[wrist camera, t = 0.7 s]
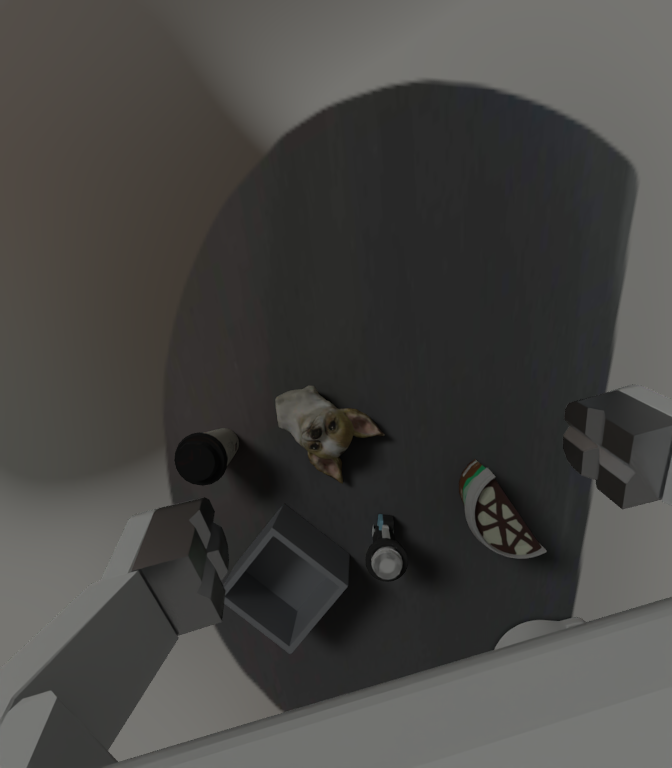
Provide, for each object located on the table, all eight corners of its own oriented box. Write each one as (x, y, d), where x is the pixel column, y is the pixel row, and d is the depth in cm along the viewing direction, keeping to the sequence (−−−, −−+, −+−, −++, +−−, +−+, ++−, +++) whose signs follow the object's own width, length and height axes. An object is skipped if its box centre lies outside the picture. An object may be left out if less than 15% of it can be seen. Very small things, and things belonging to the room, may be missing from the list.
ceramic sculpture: (300, 367, 48) (392, 443, 49) (307, 362, 56) (385, 426, 57) (247, 432, 49) (338, 504, 50) (262, 416, 57) (339, 479, 59)
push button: (396, 556, 58) (404, 599, 48) (361, 551, 58) (361, 592, 48) (402, 514, 58) (411, 548, 48) (366, 509, 58) (368, 542, 48)
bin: (349, 554, 59) (348, 586, 51) (299, 613, 60) (290, 654, 52) (284, 503, 58) (272, 527, 51) (235, 564, 60) (216, 597, 52)
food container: (433, 473, 57) (449, 500, 47) (469, 450, 56) (492, 472, 46) (480, 541, 57) (505, 581, 47) (516, 519, 57) (549, 555, 47)
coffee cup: (255, 437, 58) (234, 455, 48) (230, 474, 59) (204, 500, 49) (217, 411, 58) (187, 424, 48) (193, 448, 59) (158, 469, 49)
